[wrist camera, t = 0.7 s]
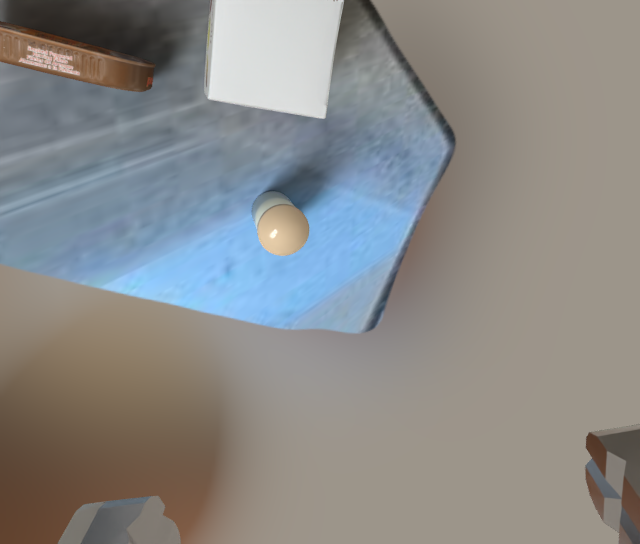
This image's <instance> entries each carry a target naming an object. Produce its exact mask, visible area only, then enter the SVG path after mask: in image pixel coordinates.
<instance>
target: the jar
mask: <svg viewBox="0 0 640 544" xmlns="http://www.w3.org/2000/svg"><path fill="white" fill-rule="evenodd" d="M251 212H252V218H253V221H254V223H255V225H256V228H257V234H258V237H259V240H260V242H261V244H262V246H263V247H264V248H265V249H266V250H267V251H269V252H270V253H272V254H275V255H281V256H284V255H290V254H293V253H295V252H297V251H298V250H299V249H301V248H302V247H303V245H304V244H305V243H306V241H307V239H308V235H309V224H308V221H307V219H306V217H305V215H304V214H303V213H302V212H301V211H300V210H299V209H298V208H296V207H295V206H294V205H293V204H292V202H291V201H290V200H289V199H288V197H287V196H285V195H284V194H282V193H280V192H277V191H268V192H265V193H263V194H261V195H260V196H258V197H257V198H256V200H255V201H254V203H253V206H252V211H251Z"/></svg>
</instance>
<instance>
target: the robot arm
mask: <svg viewBox="0 0 640 544" xmlns="http://www.w3.org/2000/svg"><path fill="white" fill-rule="evenodd" d="M586 449H587V450H588V452H589V454H590V455H591V457H592V459H591V460H590V461H589V462H588V463H587V464H586V466H585V474H586V483H587V486H588V490H589V494H590V496H591V499H592V501H593V504H594V506H595V508H596V510H597V512H598V514H599V515H600V517H601V519H602V521H603V522H604V523H605V524H607V525H608V526H610V527H611V528H613V529H614V530H615V531H617V532H618V533H619V544H640V424H638V425H632V426H626V427H619V428H613V429H607V430H600V431H594V432H589V433H588V435H587V437H586ZM164 509H165V506H164V504H163V502H162V501H161V499H160V498H159V496H150V497H141V498H132V499H123V500H115V501H107V502H99V503H92V504H84V505H83V506H82V507H81V508H79V509H78V510H77V511H76V512H75V514H74V516H73V517H72V519H71V521H70V523H69V525H68V526H67V528H66V530H65V531H64V533H63V535H62V537H61V539H60V541H59V542H58V544H181V540H180V535H179V531H178V528H177V526H176V525H175V523H174V521H172V520H170V519H168V518H167V517H165V516H163V515H162V514H163V512H164Z"/></svg>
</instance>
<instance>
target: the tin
mask: <svg viewBox="0 0 640 544" xmlns="http://www.w3.org/2000/svg"><path fill="white" fill-rule="evenodd" d="M0 61H1V62H4V63H8V64H13V65H16V66H21V67H25V68H29V69H33V70H37V71H41V72H45V73H49V74H53V75H57V76H62V77H66V78H70V79H75V80H79V81H83V82H88V83H92V84H97V85H101V86H106V87H110V88H116V89H121V90H127V91H136V92H143V91H146V90H149V89H151V87H152V82H153V72H154V67H155V66H156V65H155V64H154V63H151V62H149V61H146V60H144V59H141V58H138V57H134V56H131V55H127V54H123V53H120V52H116V51H112V50H109V49H105V48H101V47H97V46H94V45H90V44H86V43H82V42H79V41H75V40H71V39H67V38H64V37H60V36H56V35H52V34H49V33H45V32H41V31H37V30H33V29H30V28H25V27H21V26H17V25H13V24H9V23H5V22H1V21H0Z"/></svg>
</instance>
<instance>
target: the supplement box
mask: <svg viewBox="0 0 640 544" xmlns="http://www.w3.org/2000/svg"><path fill="white" fill-rule="evenodd" d="M343 4H344V0H210V11H209V23H208V36H207V49H206V63H205V80H204V92H205V94H206V96H207V98H208V99H210V100H215V101H220V102H225V103H231V104H236V105H241V106H247V107H253V108H259V109H265V110H271V111H278V112H284V113H290V114H296V115H303V116H309V117H315V118H321V119H325V118H326V112H327V103H328V96H329V89H330V82H331V75H332V68H333V61H334V55H335V48H336V43H337V37H338V31H339V25H340V20H341V14H342V9H343Z"/></svg>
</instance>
